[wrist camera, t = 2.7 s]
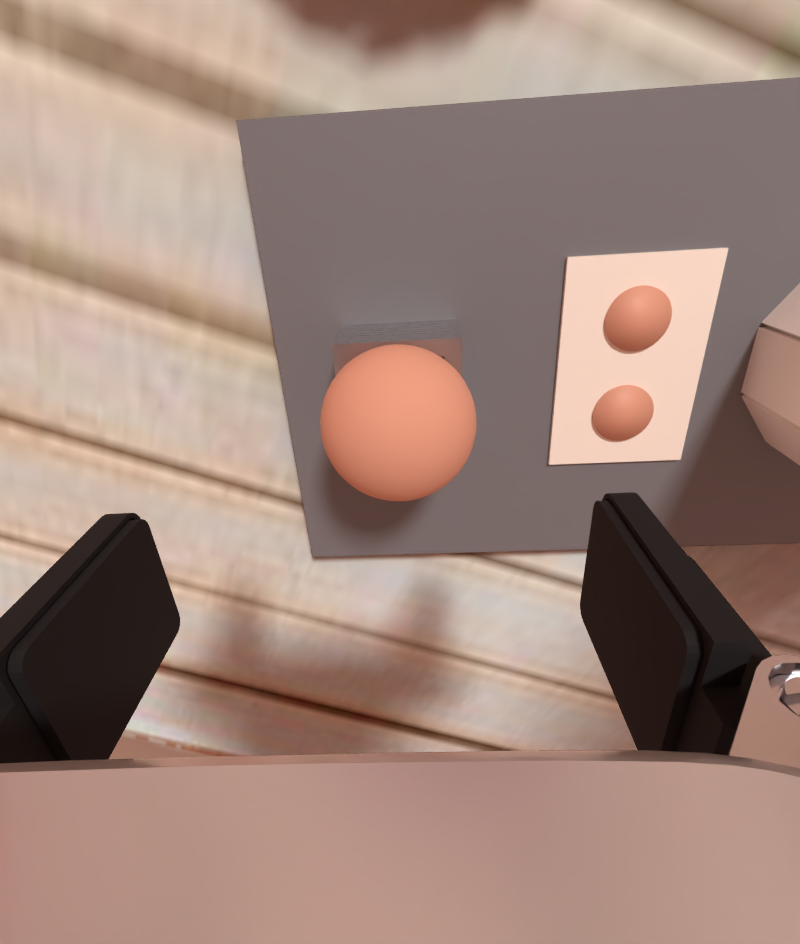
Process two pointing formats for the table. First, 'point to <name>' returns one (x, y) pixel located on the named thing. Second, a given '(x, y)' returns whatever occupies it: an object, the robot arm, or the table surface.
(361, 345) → the grey hollow block
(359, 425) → the ball
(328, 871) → the robot arm
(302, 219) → the board
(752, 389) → the tube
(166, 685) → the table surface
